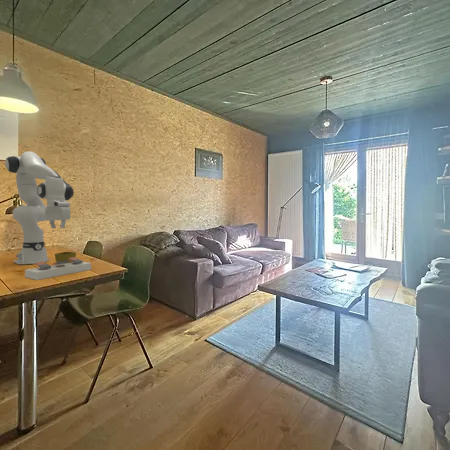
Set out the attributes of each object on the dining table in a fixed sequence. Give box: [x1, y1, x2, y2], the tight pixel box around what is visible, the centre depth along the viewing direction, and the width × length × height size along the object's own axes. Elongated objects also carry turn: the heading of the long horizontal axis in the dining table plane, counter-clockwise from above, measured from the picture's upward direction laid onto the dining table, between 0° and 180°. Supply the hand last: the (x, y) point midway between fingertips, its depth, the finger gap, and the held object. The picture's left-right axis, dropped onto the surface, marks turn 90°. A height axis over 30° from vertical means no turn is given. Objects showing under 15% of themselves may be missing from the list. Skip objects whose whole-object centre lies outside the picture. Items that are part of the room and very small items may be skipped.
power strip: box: [24, 261, 92, 281], centre depth 153 cm, size 12×34×4 cm, turn 150°
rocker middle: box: [52, 260, 68, 266], centre depth 151 cm, size 8×4×1 cm, turn 60°
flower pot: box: [54, 251, 77, 265], centre depth 170 cm, size 9×9×9 cm
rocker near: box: [34, 262, 52, 269], centre depth 143 cm, size 8×4×1 cm, turn 60°
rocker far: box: [69, 257, 84, 264], centre depth 159 cm, size 8×4×1 cm, turn 60°
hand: (58, 228), depth 151 cm, fingers open, 8 cm apart
